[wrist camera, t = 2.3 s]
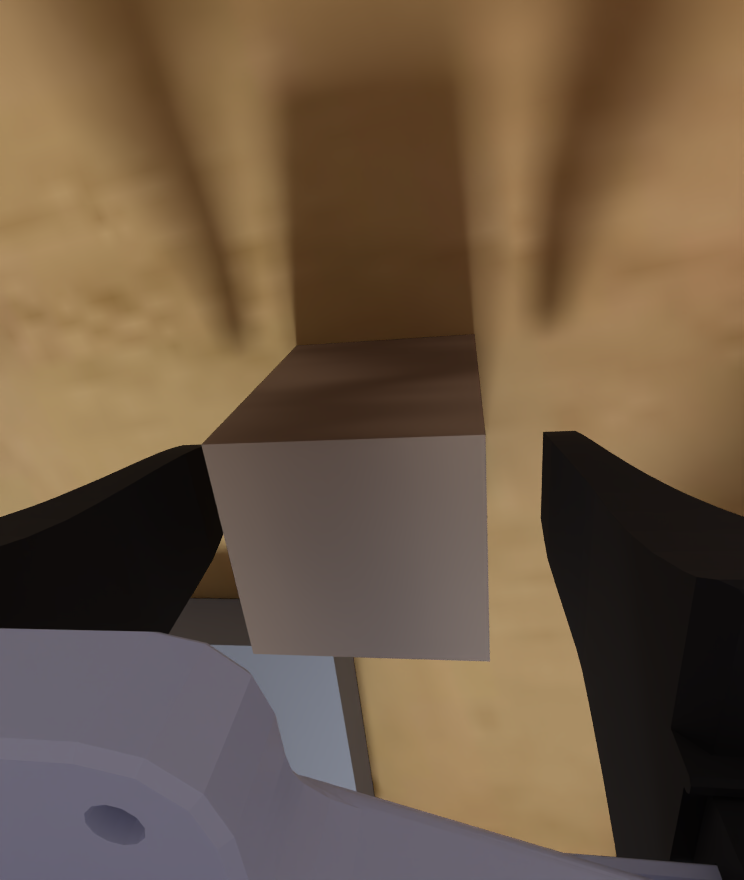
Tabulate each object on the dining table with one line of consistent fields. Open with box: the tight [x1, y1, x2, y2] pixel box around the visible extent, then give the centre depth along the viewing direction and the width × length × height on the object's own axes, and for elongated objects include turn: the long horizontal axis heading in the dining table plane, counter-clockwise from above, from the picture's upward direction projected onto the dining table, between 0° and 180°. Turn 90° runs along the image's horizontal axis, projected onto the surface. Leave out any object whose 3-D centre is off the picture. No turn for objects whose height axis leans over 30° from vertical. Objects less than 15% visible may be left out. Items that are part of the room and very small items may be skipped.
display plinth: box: [169, 598, 374, 797], centre depth 21 cm, size 16×14×3 cm
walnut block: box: [202, 334, 490, 661], centre depth 12 cm, size 4×4×6 cm
